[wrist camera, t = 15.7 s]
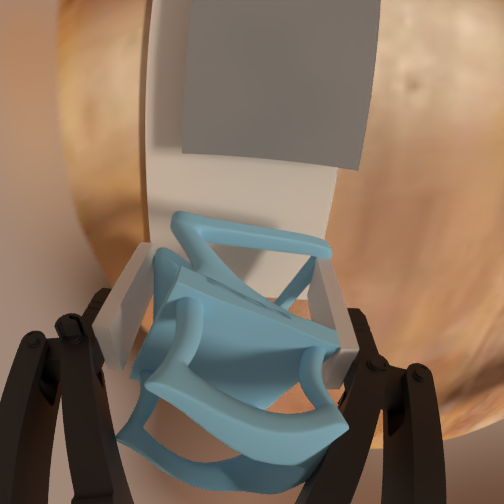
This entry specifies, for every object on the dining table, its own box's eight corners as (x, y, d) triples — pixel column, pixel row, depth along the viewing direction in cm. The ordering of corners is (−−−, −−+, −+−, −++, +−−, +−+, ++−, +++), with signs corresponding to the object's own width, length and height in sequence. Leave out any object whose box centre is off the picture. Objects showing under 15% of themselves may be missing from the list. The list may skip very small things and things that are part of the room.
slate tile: (369, -1, 11) (201, -22, 11) (380, -8, 10) (195, -32, 10) (349, 162, 16) (189, 146, 16) (358, 170, 15) (181, 153, 15)
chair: (193, 171, 14) (93, 403, 4) (332, 243, 17) (402, 459, 7) (143, 280, 18) (79, 468, 8) (261, 329, 20) (265, 509, 10)
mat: (161, -43, 10) (159, -45, 10) (358, -30, 11) (361, -32, 10) (156, 284, 22) (155, 287, 21) (309, 296, 22) (309, 299, 22)
